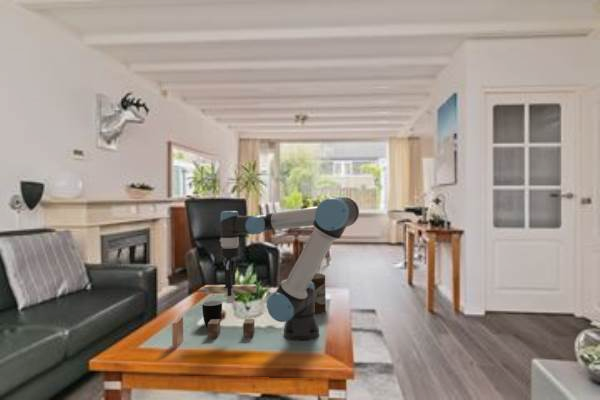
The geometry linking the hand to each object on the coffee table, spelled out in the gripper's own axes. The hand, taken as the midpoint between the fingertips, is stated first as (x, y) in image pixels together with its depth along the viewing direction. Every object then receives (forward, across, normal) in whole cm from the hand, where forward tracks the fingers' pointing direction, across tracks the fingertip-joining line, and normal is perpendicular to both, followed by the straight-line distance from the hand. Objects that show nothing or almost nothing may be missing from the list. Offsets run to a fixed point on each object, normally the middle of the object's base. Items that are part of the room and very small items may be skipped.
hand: (230, 301), depth 173 cm
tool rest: (+14, 0, 0) cm, 14 cm away
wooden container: (+15, -36, +35) cm, 52 cm away
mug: (+15, -16, -12) cm, 25 cm away
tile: (+15, +10, -20) cm, 27 cm away
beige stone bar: (-4, 0, -1) cm, 4 cm away
